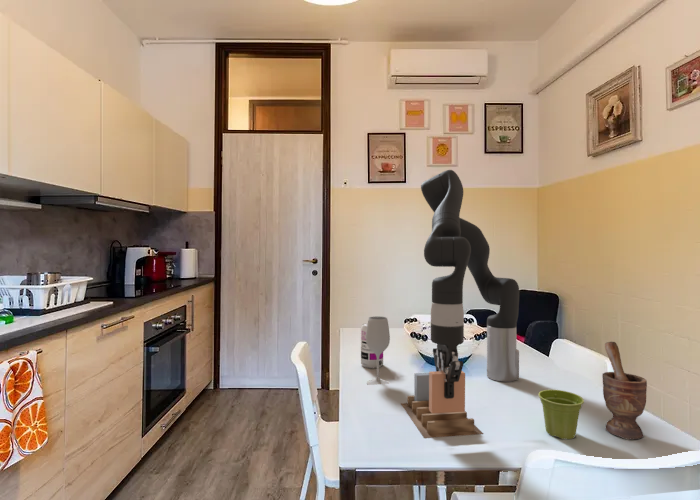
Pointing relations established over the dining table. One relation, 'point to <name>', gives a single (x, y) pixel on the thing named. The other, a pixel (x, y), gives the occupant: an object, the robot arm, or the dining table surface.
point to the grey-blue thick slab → (421, 386)
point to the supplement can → (368, 352)
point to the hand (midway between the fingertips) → (446, 395)
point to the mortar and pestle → (623, 397)
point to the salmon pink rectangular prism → (437, 394)
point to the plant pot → (561, 412)
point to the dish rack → (438, 420)
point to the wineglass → (377, 341)
